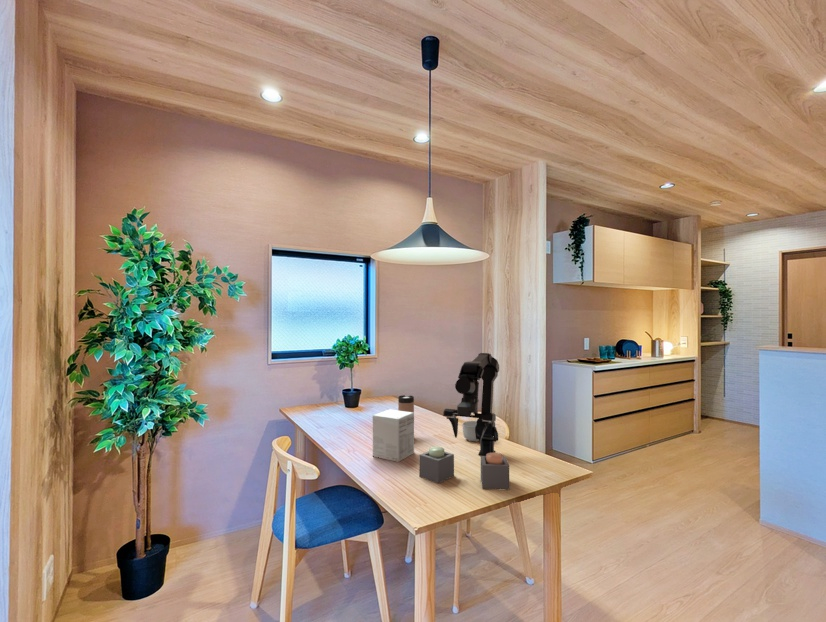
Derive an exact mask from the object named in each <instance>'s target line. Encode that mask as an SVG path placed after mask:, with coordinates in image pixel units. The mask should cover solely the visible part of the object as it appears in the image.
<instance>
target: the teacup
mask: <svg viewBox="0 0 826 622" xmlns="http://www.w3.org/2000/svg"><path fill="white" fill-rule="evenodd" d="M461 425H462V434H463V437H464V438H465V439H466V440H467V441H468V442H469V441H470V442H480V441H479V439H476V434H475V426H476V425H477V419H475V420H468V421H467V420H466V421H465V422H464V421H463V422H462V423H461Z"/></svg>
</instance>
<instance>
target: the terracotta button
mask: <svg viewBox="0 0 826 622" xmlns="http://www.w3.org/2000/svg"><path fill="white" fill-rule="evenodd" d="M503 457H504V455H503V454H501V453H499V452H495V453H488V454H486V464H502V465H503Z"/></svg>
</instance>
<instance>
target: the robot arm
mask: <svg viewBox="0 0 826 622" xmlns="http://www.w3.org/2000/svg"><path fill="white" fill-rule="evenodd" d="M499 372H500V364H499V361H498V359H496V358H494V357H493V356H492V354H491V353H489V352H480V353H478V355H477V356H476V357H475V358H474V359H473V360H470V361H465V362H464V363H463V364H462V365H461V367H460V369H459V373H458V379H457V380H456V382H455V384H454V387H455V390H456V391H457V393H458V394H461V395H462V397H461V402H459V403H458V404H457V405H456V408H457V409H455V408H454V409H453V408H444V410H443V413H442V414H443V415H442V416H443V417H446V419H447V420H449V422H450V424H451V427H452V431H453V434H454V435H453V436H454V437H455V438H458V434H459V433H458V432H459V418H458V417H462V418H473V419H476V420H477V425H476V426H475V434H476V439H479V441H478V442H480V445H479V446H480V448H479V452H478V456H486V454H488V453H496V450H495V442H498V441H499V433H498V429H497V427H496V418H497V417H496V416H497V415H496V413H494V412H493V400H494V399H493V398H494V384H495V383H494V382H495V381H496V379H497V378H498V376H499V375H498V374H499ZM480 380H482V391H481V392H482V393H481V394H482V395H481V407H480V408H481V410H480V411H481V412H479V411H478V409H479V408H478V406H479V404H478V403H479V401H480V400H479V388H480V382H479V381H480Z"/></svg>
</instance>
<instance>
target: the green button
mask: <svg viewBox="0 0 826 622" xmlns="http://www.w3.org/2000/svg"><path fill="white" fill-rule="evenodd" d="M428 451H429V456H430V457H434V458H437V459H439V458H441V457H444V452H445V448H444V447H442V446H432V447H429V448H428Z"/></svg>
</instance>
